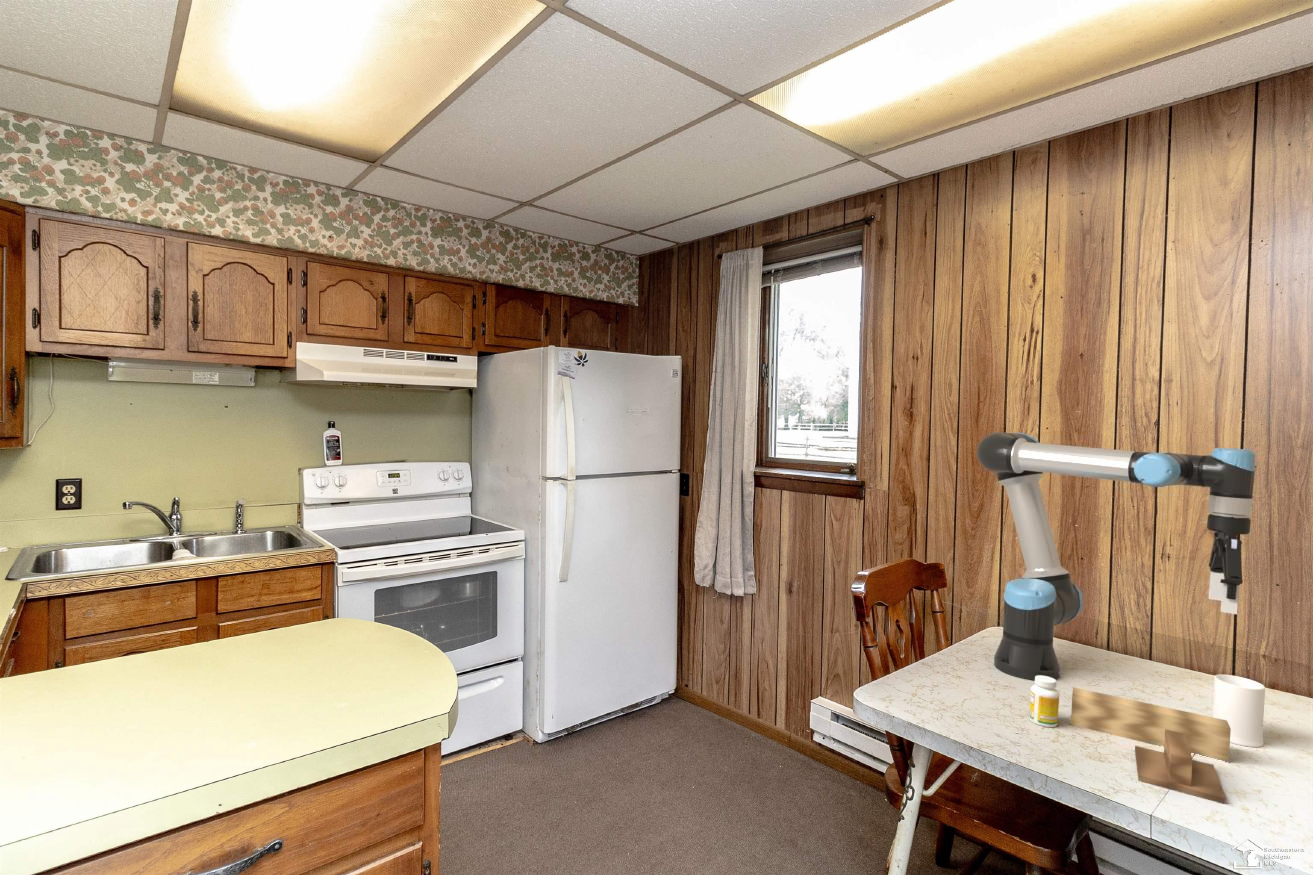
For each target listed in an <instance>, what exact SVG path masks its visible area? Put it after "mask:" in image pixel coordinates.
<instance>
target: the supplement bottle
mask: <svg viewBox="0 0 1313 875" xmlns="http://www.w3.org/2000/svg"><path fill="white" fill-rule="evenodd" d="M1056 688H1057V679H1056V680H1055V679H1053V678H1051V677H1048V676H1041V675H1038V676H1035V680H1034V684H1033V685H1032V686H1031V687H1030V694H1029V695H1030V696H1029V708H1028V710H1029V711H1028V719H1029V720H1030V722H1032V724H1035V725H1038V726H1040V727H1046V728H1055V727H1057V726H1058V720H1059V708H1060V707H1059V705H1060V693H1059V691H1058V690H1057V689H1056Z"/></svg>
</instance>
